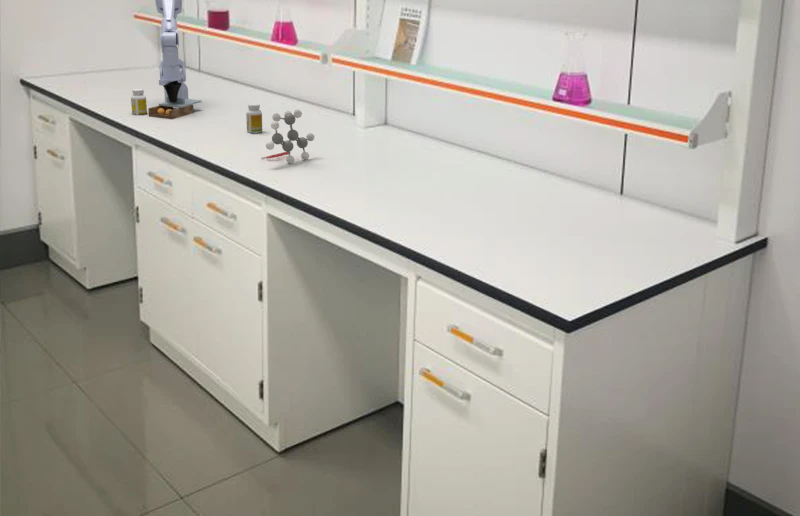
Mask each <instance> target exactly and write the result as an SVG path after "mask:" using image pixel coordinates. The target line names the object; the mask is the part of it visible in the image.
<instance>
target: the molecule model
mask: <svg viewBox="0 0 800 516" xmlns="http://www.w3.org/2000/svg"><path fill="white" fill-rule="evenodd" d="M283 115H284V117H281V115H280V114H279V113H277V112H276V113H273V115H272V117H271V118H272V121H271V124H270V127H271V128H272V130H274V131H275V133H274V134H273V135H272V136H271V141H270V140H268V141H267V142H266V143H265V147H266V149H267V150H269V151H271V150H273V149H274V148H275V145H281V148H282V150H283V151H284V152H280V153H275V154H271V155H266V156H262V157H260V159H261V160H263V159H272V158H273V159H274V158H279V157H283V156H286V159H285V161H286V163H287V164H289V165H290V164H294V162H295V157H294V156H293V155H291V152H292V151H293V149H294V143H293V142H295V141H296V146H297V147H298V148H300V149H302V151H303V152H302V153H301V154H300V157H301V160H303V159H304V161H307V160H308V159H309V158H310V154H309V152H307V151H306V150H305V148H307V146H308V145H309V142H313V141H314V140H315V135H314V133H311V132H309V133H307V134H306V137H302V136H301V137H299V132H298V131H297V130H296V129H294V128H293V125H294V124H295V123H296V118H297V119H300V118H301V117H302V116H303V113H302V111H301V110H300V109H295V110H294V111H293V113H292V112H291V111H289V110H286V111H285V112H284V114H283ZM280 120H284V123H285V124H286V125H289V128H290V130H288V132H287V135H286V136H287V139H288V140H284V136H283V134H281V133H280V132H278V129H279V128H280V122H279V121H280ZM287 155H288V156H287Z"/></svg>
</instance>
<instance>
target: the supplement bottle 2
mask: <svg viewBox="0 0 800 516" xmlns="http://www.w3.org/2000/svg"><path fill="white" fill-rule="evenodd" d="M247 109H248V110H246V115H245V116H246V117H245V118H246V132H247V133H248V134H260V133H262V132H263V112H262V110H261V105H260V104H259V103H248V105H247Z"/></svg>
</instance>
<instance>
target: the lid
mask: <svg viewBox="0 0 800 516" xmlns="http://www.w3.org/2000/svg"><path fill="white" fill-rule="evenodd" d="M199 103H202V100H201V99H190V98H188V99H184V98H177V101H176V102H175V103H173V102H170V101H169V98H168V97H167V102H165V101H164V102H160V103H158V106H159V105H160V106H169V107H173V108H182V107H186V106H189V105H193V106H194V105H196V104H199Z"/></svg>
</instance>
